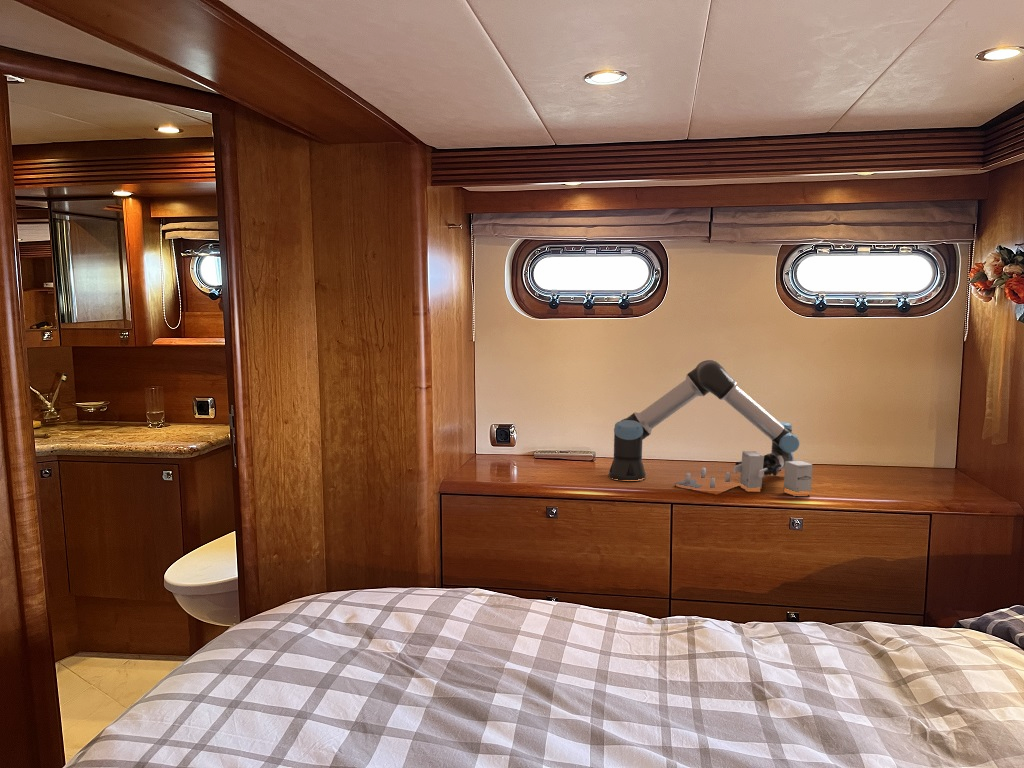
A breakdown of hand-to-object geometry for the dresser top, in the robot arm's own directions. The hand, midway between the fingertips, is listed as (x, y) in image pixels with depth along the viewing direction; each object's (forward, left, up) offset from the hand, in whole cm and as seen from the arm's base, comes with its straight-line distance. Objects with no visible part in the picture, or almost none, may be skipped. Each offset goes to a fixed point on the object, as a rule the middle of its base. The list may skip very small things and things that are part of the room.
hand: (746, 471), depth 289 cm
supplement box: (+16, +10, -8) cm, 21 cm away
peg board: (-15, -3, -8) cm, 17 cm away
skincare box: (0, +4, -8) cm, 9 cm away
